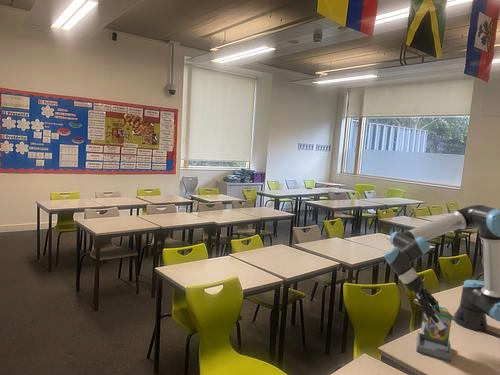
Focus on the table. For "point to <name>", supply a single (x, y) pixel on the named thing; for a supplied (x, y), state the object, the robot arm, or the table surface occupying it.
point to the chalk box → (430, 326)
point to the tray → (434, 347)
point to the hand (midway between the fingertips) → (443, 323)
